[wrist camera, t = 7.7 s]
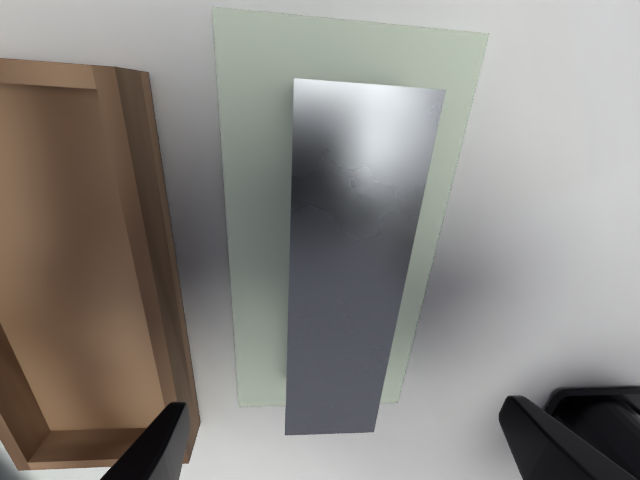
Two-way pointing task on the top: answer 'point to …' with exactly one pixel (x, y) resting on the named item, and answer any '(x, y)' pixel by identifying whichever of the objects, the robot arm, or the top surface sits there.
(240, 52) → the sage mat
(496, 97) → the top surface
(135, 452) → the robot arm
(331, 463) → the top surface
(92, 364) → the walnut slot tray
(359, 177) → the gunmetal bar
